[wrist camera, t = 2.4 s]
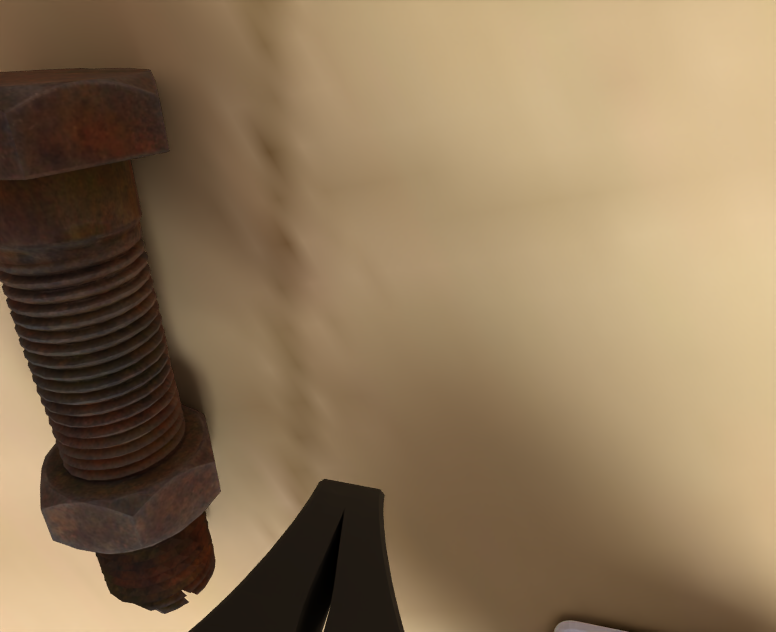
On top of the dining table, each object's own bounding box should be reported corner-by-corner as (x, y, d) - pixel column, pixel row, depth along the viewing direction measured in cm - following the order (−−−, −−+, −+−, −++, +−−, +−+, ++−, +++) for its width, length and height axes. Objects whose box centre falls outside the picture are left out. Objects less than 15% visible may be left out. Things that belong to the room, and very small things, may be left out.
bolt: (193, 492, 22) (93, 64, 15) (286, 556, 19) (213, 67, 13) (36, 602, 18) (-195, 84, 11) (126, 703, 15) (-109, 96, 8)
